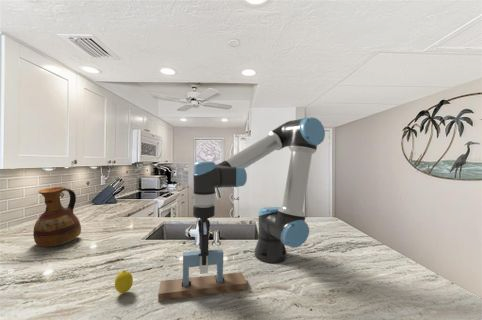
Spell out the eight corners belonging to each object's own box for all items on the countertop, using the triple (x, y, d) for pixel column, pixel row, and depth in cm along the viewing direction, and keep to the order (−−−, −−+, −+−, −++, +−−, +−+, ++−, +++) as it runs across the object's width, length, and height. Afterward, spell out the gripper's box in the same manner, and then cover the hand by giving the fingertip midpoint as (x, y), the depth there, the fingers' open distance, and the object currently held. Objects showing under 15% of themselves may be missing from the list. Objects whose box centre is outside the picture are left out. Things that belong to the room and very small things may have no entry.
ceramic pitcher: (25, 246, 121) (24, 188, 120) (66, 233, 139) (66, 183, 139) (48, 252, 113) (47, 190, 113) (89, 238, 132) (88, 185, 131)
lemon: (119, 289, 84) (118, 267, 84) (135, 288, 84) (135, 266, 84) (111, 298, 78) (111, 275, 78) (129, 298, 79) (129, 274, 78)
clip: (221, 278, 87) (222, 249, 87) (223, 283, 84) (223, 252, 84) (182, 282, 84) (183, 252, 84) (182, 287, 81) (183, 255, 81)
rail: (241, 278, 92) (241, 272, 92) (246, 290, 84) (247, 283, 84) (160, 287, 85) (160, 280, 85) (158, 301, 77) (158, 293, 77)
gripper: (192, 200, 90) (192, 261, 91) (193, 210, 75) (193, 283, 75) (212, 200, 92) (211, 259, 93) (217, 210, 76) (216, 281, 77)
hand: (203, 270), depth 84 cm, fingers closed on clip, 3 cm apart
